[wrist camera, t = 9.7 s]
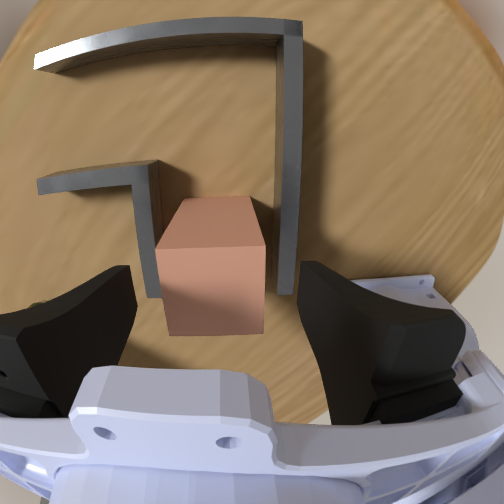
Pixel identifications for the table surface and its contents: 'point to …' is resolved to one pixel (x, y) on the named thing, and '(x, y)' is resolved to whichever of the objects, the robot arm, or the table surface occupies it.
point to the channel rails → (147, 172)
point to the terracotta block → (213, 268)
